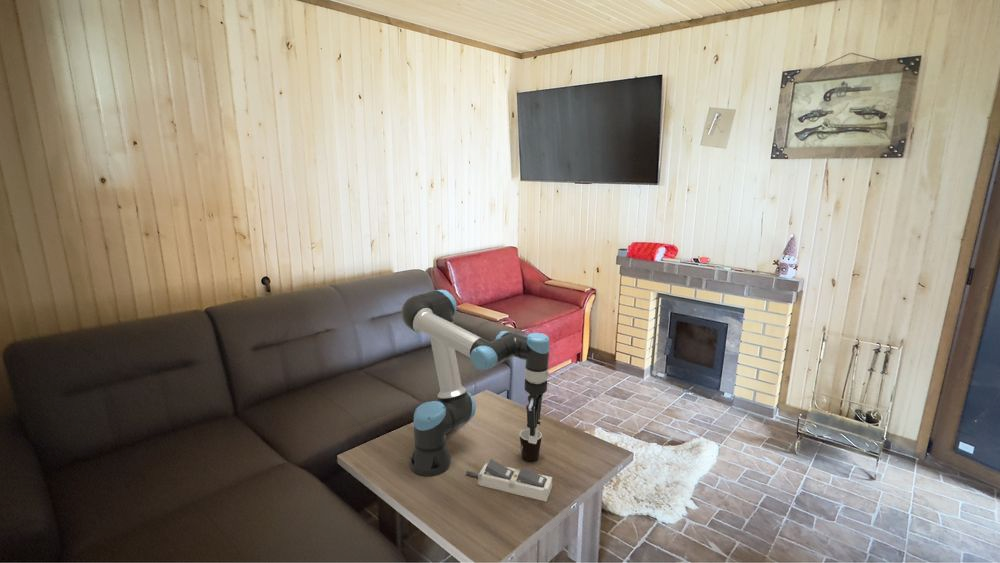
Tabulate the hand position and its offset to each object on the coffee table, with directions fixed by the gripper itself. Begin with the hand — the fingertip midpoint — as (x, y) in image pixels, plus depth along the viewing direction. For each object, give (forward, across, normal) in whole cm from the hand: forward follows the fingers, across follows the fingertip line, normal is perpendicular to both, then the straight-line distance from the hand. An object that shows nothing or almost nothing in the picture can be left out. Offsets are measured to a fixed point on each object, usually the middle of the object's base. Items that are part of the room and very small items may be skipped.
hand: (532, 442), depth 163 cm
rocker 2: (+13, -2, -1) cm, 13 cm away
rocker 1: (+13, -2, +11) cm, 18 cm away
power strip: (+18, -2, +8) cm, 20 cm away
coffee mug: (+18, +18, +5) cm, 26 cm away
